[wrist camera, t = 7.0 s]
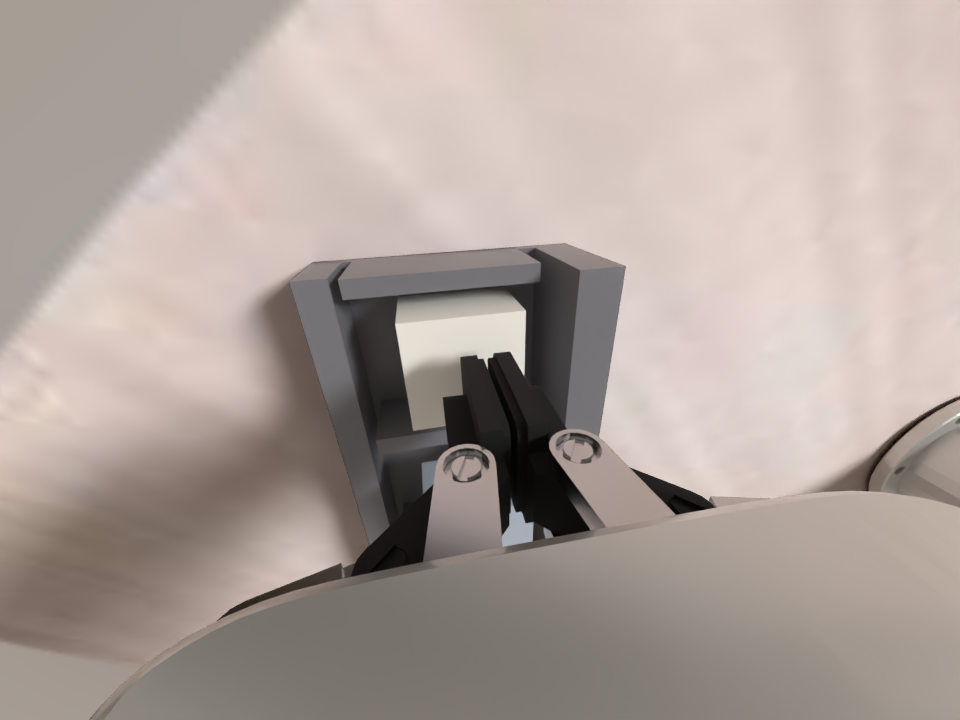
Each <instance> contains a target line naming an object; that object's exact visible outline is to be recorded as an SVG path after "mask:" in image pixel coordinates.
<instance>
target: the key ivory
mask: <svg viewBox="0 0 960 720" xmlns="http://www.w3.org/2000/svg"><path fill="white" fill-rule="evenodd" d="M395 326H396V332H397V338H398V344H399V350H400V356H401V362H402V368H403V373H404V379H405V385H406V391H407V397H408V403H409V409H410V415H411V421H412V427H413V431H416V430H422V429H429V428H436V427H443V426H446V425H445V416H444V407H443V397H449V396H457V395H463V389H462V376H461V363H460V357H464V356H473V355H477V357H478V359H484V361H485V364H486V366H487V369H488V358H493V354H494V353H500V352H509V351H510V352H511V354H512V356H513V357H514V359H515V361H516V363H517V364H518V366H519V368H520V370H521V371H522V373H523V375H524V372H525V330H526V310H525V309H524V308H523V307H522V306H521V305H520V304H519V303H518V301H517V300H516V299H515V298H514V297H513V296H512V295H511V294H510V293H509V292H508V291H507V290H506V288H505V287H504V286H499V287H488V288H477V289H466V290H455V291H445V292H434V293H423V294H412V295H401V296H398V301H397V311H396V321H395Z"/></svg>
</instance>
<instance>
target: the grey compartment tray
mask: <svg viewBox="0 0 960 720" xmlns="http://www.w3.org/2000/svg"><path fill="white" fill-rule="evenodd" d="M625 268H626V266H624V265H621V264H618V263H616V262H613V261H611V260H608V259H605V258H603V257H600V256H597V255H595V254H592V253H589V252H587V251H584V250H581V249H579V248H576V247H574V246H571V245H568V244H566V243H562V244H549V245H536V246H523V247H509V248H496V249H483V250H469V251H456V252H443V253H430V254H416V255H403V256H390V257H377V258H363V259H350V260H337V261H323V262H313V263H312V264H310V265H309V266H308V267H307V268H305V269H304V270H303V271H302V272H300V273H299V274H298V275H297V276H295V277H294V278H293V279H292V280H291V281H289V283H290V286H291V290H292V293H293V296H294V300H295V303H296V306H297V309H298V313H299V316H300V319H301V322H302V326H303V329H304V332H305V336H306V339H307V342H308V345H309V349H310V352H311V355H312V358H313V362H314V365H315V368H316V372H317V375H318V378H319V381H320V385H321V388H322V391H323V394H324V398H325V401H326V404H327V407H328V411H329V414H330V417H331V421H332V424H333V427H334V430H335V434H336V437H337V440H338V443H339V447H340V450H341V453H342V457H343V460H344V463H345V466H346V470H347V473H348V476H349V479H350V483H351V486H352V489H353V493H354V496H355V499H356V502H357V506H358V509H359V512H360V515H361V519H362V522H363V525H364V529H365V532H366V535H367V538H368V542H369V545H371V544H372V543H373V542H374V541H375V540H376V539H377V538H378V537H379V536H380V535H381V534H382V533H383V532H384V531H385V530H386V529H387V528H388V527H389V526H390V525H391V524H392V523H394V522H395V521H396V520H397V519H398V518H399V517H400V516H401V515H402V514H403V513H404V512H405V511H406V510H407V509H408V508H409V507H410V506H411V505H412V504H413V503H414V502H415V501H416V500H417V499H418V498H419V497H420V496H422V495H423V482H422V463H424V462H430V461H436V460H438V459H439V458H440V456H441V455H442V454H443V453H444V452H445V451H447V450H448V442H447V433H446V426H443V427H436V428H429V429H422V430H416V431H413V427H412V421H411V415H410V409H409V403H408V397H407V391H406V385H405V379H404V373H403V368H402V362H401V356H400V350H399V344H398V338H397V332H396V326H395V321H396V311H397V301H398V296H401V295H412V294H423V293H434V292H445V291H455V290H466V289H477V288H488V287H499V286H504V287H505V288H506V290H507V291H508V292H509V293H510V294H511V295H512V296H513V297H514V298H515V299H516V300H517V301H518V303H519V304H520V305H521V306H522V307H523V308H524V309H525V310H526V330H525V372H524V377H525V379H526V380H527V382H528V384H529V386H536V385H538V386H540V387H541V388H542V390H543V391H544V393H545V395H546V396H547V398H548V399H549V401H550V403H551V404H552V406H553V407H554V409H555V411H556V412H557V414H558V415H559V417H560V419H561V420H562V422H563V424H564V425H565V427H566V428H567V429H580V430H584V431H588V432H590V433H592V434H595V435H597V436H598V437H599V433H600V426H601V420H602V414H603V407H604V401H605V395H606V388H607V382H608V376H609V369H610V363H611V357H612V350H613V344H614V338H615V331H616V325H617V319H618V312H619V306H620V300H621V293H622V287H623V281H624V274H625ZM542 539H546V538H545V535H544V527H542V526H541V525H539V524H537V523H535V522H534V523H533V541H537V540H542Z"/></svg>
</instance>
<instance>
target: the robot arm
mask: <svg viewBox="0 0 960 720" xmlns="http://www.w3.org/2000/svg"><path fill="white" fill-rule="evenodd" d="M460 363H461V376H462V389H463V395H457V396H449V397H443V407H444V416H445V425H446V433H447V442H448V450H447V451H445V452H444V453H443V454H442V455H441V456H440V458H439V459H438V462H437V465H436V470H435V478H434V484H433V485H432V486H431V487H430V488H429V489H428V490H427V491H426V492H425V493H424V494H423V495H422V496H420V497H419V498H418V499H417V500H416V501H415V502H414V503H413V504H412V505H411V506H410V507H409V508H408V509H407V510H406V511H405V512H404V513H403V514H402V515H401V516H400V517H399V518H398V519H397V520H396V521H395V522H394V523H392V524H391V525H390V526H389V527H388V528H387V529H386V530H385V531H384V532H383V533H382V534H381V535H380V536H379V537H378V538H377V539H376V540H375V541H374V542H373V543H372V544H371V545H370V546H369V547H368V548H367V549H366V550H365V551H364V552H363V553H362V554H361V556H360V557H359V558H358V559H357V561H356V563H354V564H352V565H349V566H347V567H344V568H343V567H342V564H341V563H340V564H338V565H335V566H333V567H330V568H328V569H325V570H323V571H320V572H317V573H315V574H312V575H310V576H307V577H305V578H302V579H300V580H297V581H295V582H292V583H290V584H287V585H285V586H282V587H280V588H277V589H274V590H272V591H269V592H267V593H264V594H262V595H259V596H257V597H254V598H252V599H249V600H247V601H244V602H242V603H241V604H239V605H237V606H235V607H233V608H231V609H230V610H229V611H228V612H226V613H225V614H224V615H223V616H222V617H221V618H219V619H218V620H217V621H216V622H214V623H212V624H210V625H209V626H207V627H205V628H203V629H201V630H199V631H197V632H195V633H194V634H192V635H190V636H188V637H186V638H184V639H183V640H181V641H180V642H178V643H177V644H175V645H173V646H172V647H170V648H169V649H167V650H166V651H164V652H163V653H161V654H160V655H158V656H157V657H156V658H154V659H153V660H151V661H150V662H148V663H147V664H146V665H144V666H143V667H142V668H141V669H139V670H138V671H137V672H136V673H135V674H133V675H132V676H131V677H130V678H129V679H128V680H126V681H125V682H124V683H123V684H122V685H121V686H120V687H119V688H118V689H117V690H116V691H115V692H114V693H113V694H112V695H111V696H110V697H109V698H108V699H107V700H106V701H105V702H104V703H103V704H102V705H101V706H100V708H99V709H98V710H97V711H96V712H95V714H94V715H93V716H92V717H91V718H90V719H89V720H960V399H959V400H957V401H955V402H953V403H951V404H948V405H947V406H945V407H943V408H941V409H940V410H938V411H936V412H934V413H933V414H931V415H930V416H928V417H927V418H925V419H924V420H922V421H921V422H919V423H918V424H917V425H916V426H914V427H913V428H912V429H911V430H909V431H908V432H907V433H906V434H905V435H904V436H902V437H901V438H900V439H899V440H898V441H897V442H896V443H895V444H894V445H893V446H892V447H891V448H890V449H889V450H888V452H887V453H886V454H885V455H884V456H883V458H882V459H881V460H880V462H879V463H878V464H877V466H876V468H875V470H874V471H873V473H872V475H871V478H870V481H869V491H835V492H818V493H810V494H801V495H792V496H785V497H778V498H772V499H771V498H741V497H712V496H711V497H710V499H709V501H708V500H706V499H705V498H703V497H702V496H700V495H698V494H696V493H694V492H691V491H689V490H686V489H684V488H681V487H679V486H676V485H673V484H671V483H668V482H666V481H663V480H660V479H658V478H655V477H653V476H650V475H648V474H645V473H642V472H640V471H637V470H635V469H632V468H630V467H628V466H627V465H626V463H625V462H624V461H623V460H622V459H621V458H620V457H619V456H618V455H617V454H616V453H615V452H614V451H613V450H612V449H611V448H610V447H609V446H608V445H607V444H606V443H605V442H604V441H603V440H602V439H600V438H599V437H598V436H597V435H595V434H592V433H590V432H588V431H584V430H580V429H567V428H566V427H565V425H564V424H563V422H562V420H561V419H560V417H559V415H558V414H557V412H556V411H555V409H554V407H553V406H552V404H551V403H550V401H549V399H548V398H547V396H546V395H545V393H544V391H543V390H542V388H541V387H540V386H538V385H536V386H529V384H528V382H527V380H526V379H525V377H524V375H523V373H522V371H521V370H520V368H519V366H518V364H517V363H516V361H515V359H514V357H513V356H512V354H511V352H510V351H509V352H500V353H494V354H493V358H488V369H487V366H486V364H485V361H484V359H478V357H477V355H473V356H464V357H460ZM511 500H512V503H513V506H514V509H515V512H522V514H523V517H524V520H525V523H532V522H535V523H537V524H539V525H541V526H542V527H544V535H545V538H546V539H542V540H537V541H532V542H526V543H521V544H516V545H510V546H505V547H503V546H502V535H503V534H504V533H505V531H506V530H507V528H508V527H509V525H510V523H509V514H510V513H511Z"/></svg>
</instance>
